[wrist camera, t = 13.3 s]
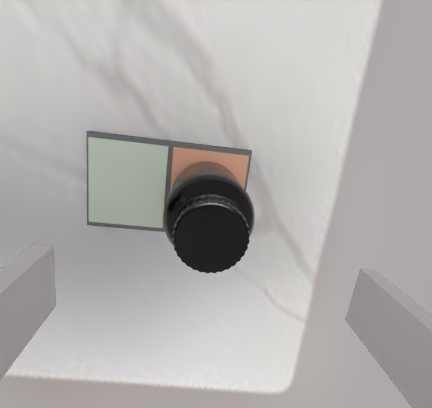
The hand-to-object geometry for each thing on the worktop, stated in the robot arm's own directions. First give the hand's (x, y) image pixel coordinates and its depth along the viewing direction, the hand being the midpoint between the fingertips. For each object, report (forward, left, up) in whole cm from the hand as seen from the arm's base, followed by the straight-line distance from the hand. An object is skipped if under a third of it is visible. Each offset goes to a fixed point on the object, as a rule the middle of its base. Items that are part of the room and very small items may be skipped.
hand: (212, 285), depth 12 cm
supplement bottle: (0, 0, -17) cm, 17 cm away
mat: (-4, 0, -18) cm, 18 cm away
